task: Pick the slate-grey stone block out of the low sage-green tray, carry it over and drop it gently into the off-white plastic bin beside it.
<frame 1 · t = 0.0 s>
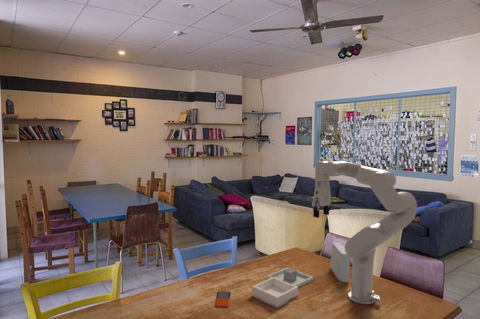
hand: (321, 215, 176), 37 cm above the table, tool pointing down, fingers open, 9 cm apart
slate stone block: (290, 279, 180), point 1 cm above the table, touching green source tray
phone: (222, 301, 159), on the table
skincare box: (339, 275, 190), on the table
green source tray: (290, 280, 180), on the table
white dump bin: (274, 296, 162), on the table
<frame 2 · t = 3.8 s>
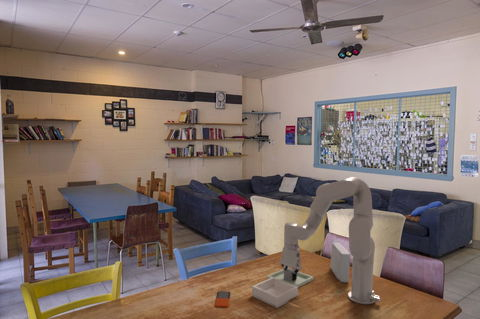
hand: (290, 277, 180), 2 cm above the table, tool pointing down, fingers closed on slate stone block, 5 cm apart
slate stone block: (290, 279, 180), point 1 cm above the table, touching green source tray, gripper
everything else where it was.
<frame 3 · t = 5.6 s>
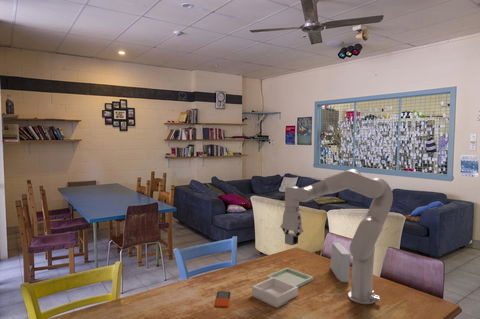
hand: (291, 241, 179), 22 cm above the table, tool pointing down, fingers closed on slate stone block, 5 cm apart
slate stone block: (291, 243, 179), point 21 cm above the table, touching gripper
everything else where it was.
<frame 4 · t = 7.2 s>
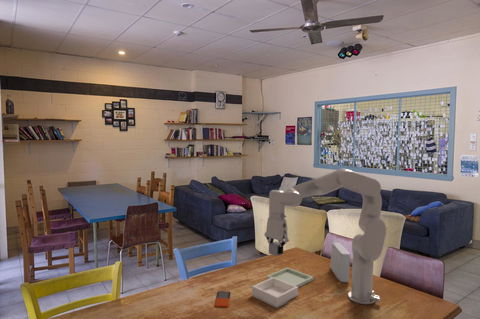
hand: (275, 251, 161), 22 cm above the table, tool pointing down, fingers closed on slate stone block, 5 cm apart
slate stone block: (275, 253, 161), point 22 cm above the table, touching gripper
everything else where it was.
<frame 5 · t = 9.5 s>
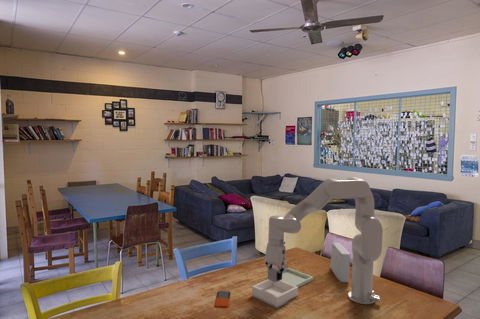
hand: (274, 277, 162), 10 cm above the table, tool pointing down, fingers closed on slate stone block, 5 cm apart
slate stone block: (274, 279, 162), point 9 cm above the table, touching gripper
everything else where it was.
when the fingers open (4 cm above the table, at t = 11.1 s): slate stone block drops 2 cm, resting on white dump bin.
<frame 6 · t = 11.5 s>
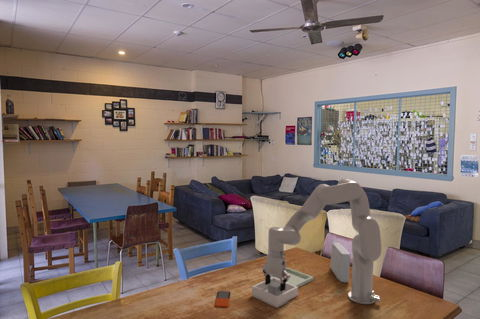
hand: (275, 287, 162), 5 cm above the table, tool pointing down, fingers open, 9 cm apart
slate stone block: (275, 294, 162), point 1 cm above the table, touching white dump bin
everything else where it was.
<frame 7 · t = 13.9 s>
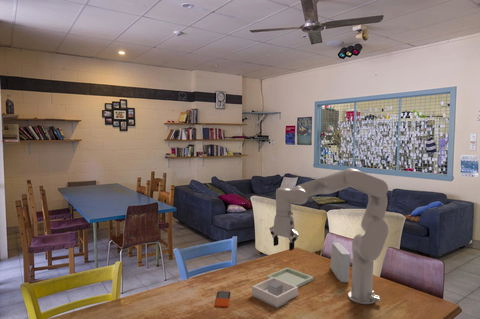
hand: (283, 247, 163), 24 cm above the table, tool pointing down, fingers open, 9 cm apart
nothing on the table moved.
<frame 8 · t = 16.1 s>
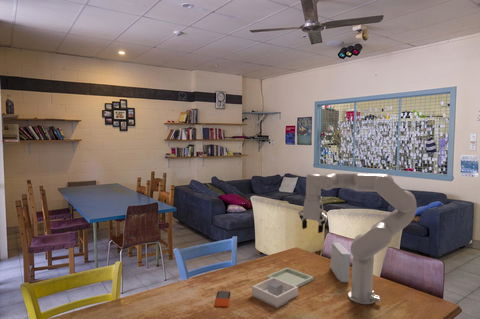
hand: (312, 230, 171), 30 cm above the table, tool pointing down, fingers open, 9 cm apart
nothing on the table moved.
at the end: slate stone block inside the target area on the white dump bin (0.0 cm from its centre), point 1.0 cm above the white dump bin's base; the gripper is holding nothing; slate stone block moved 20.9 cm from its start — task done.
